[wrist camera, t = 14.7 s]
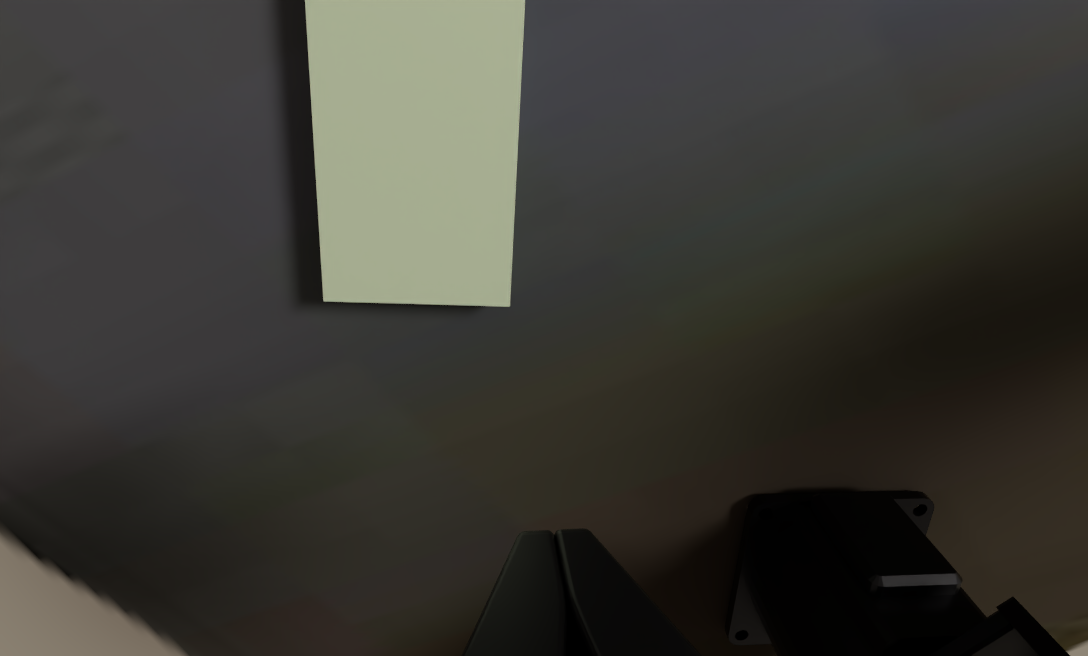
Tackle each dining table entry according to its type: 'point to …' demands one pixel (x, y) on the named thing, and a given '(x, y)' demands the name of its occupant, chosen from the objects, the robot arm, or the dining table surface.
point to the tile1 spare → (416, 147)
